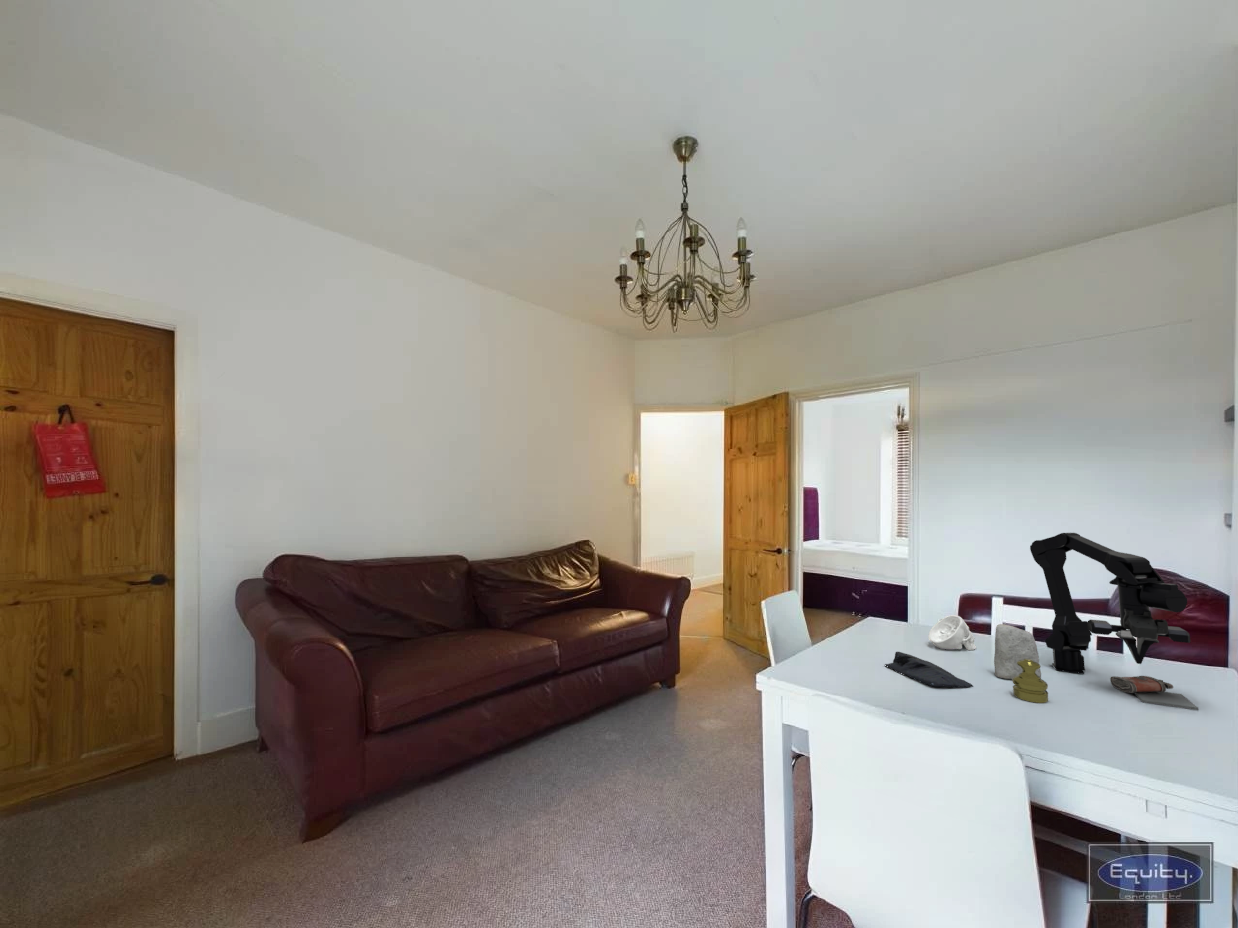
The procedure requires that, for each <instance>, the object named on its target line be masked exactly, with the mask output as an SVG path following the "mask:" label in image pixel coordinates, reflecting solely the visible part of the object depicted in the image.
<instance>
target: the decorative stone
mask: <svg viewBox="0 0 1238 928" xmlns="http://www.w3.org/2000/svg"><path fill="white" fill-rule="evenodd" d="M994 635H995V636H994V659H993V663H994V664H993V665H994V674H995V677H998V678H1001V679H1006V680H1012V678H1013V677H1014V676H1017V675H1018V674H1020V673H1021V672H1022V671H1023V670H1022V668H1021V667H1020V666H1019V665H1018V664H1017V661H1019V660H1024V659H1031V660H1033V661H1034V662H1037V663H1038V664H1040V659H1039V652H1038V648H1037V643H1036V640H1035V637H1034V635H1033V634H1032V633H1031V632H1030V631H1028V630H1024V629H1021V628H1018V627H1016V626H1012V625H1008V624H1004V623H1003V624H1002V623H999V624H997V625H996V627H995V634H994ZM1035 673H1036V674H1037V675H1038V676H1039V677H1040V678H1041V679H1042V672H1041V667H1040V668H1039V669H1037V670H1036V672H1035Z"/></svg>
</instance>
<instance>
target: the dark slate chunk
mask: <svg viewBox="0 0 1238 928" xmlns="http://www.w3.org/2000/svg"><path fill="white" fill-rule="evenodd" d="M893 658H894V659H893V660H892V662H891V663H885V664H884V666H885V665H886V666H888V667H890V668H889V669H891V668H892V669H891V670H893V669H894V670H896V671H897V672H896V671H895V672H896V673H898V672H900V673H902V674H901V675H903V674H904V675H903V676H905V675H907V676H906V677H909V676H910V677H909V678H911V679H913V678H915V679H916V680H915V679H914V680H915V681H918V682H919V681H921V682H920V683H922V684H924V683H925V684H924V685H928V686H931V687H935V688H937V687H939V688H940V687H942V688H943V687H944V688H946V687H949V688H961V689H963V688H964V689H966V688H967V689H968V688H972V687H973V688H974V685H973V684H972V683H970V682H968V681H966V680H964V679H961V678H958V677H957V676H955V675H954V674H953V673H951V672H949V671H947V670H946V669H945V668H942V667H940V666H939V665H937V664H935V663H933V662H931V661H929V660H925V659H922V658H919V657H917V656H914V655H911V654H908V653H904V652H902V651H895V653H894V657H893ZM886 666H885V667H886ZM894 670H893V671H894ZM900 673H899V674H900Z"/></svg>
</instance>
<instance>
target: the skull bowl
mask: <svg viewBox="0 0 1238 928" xmlns="http://www.w3.org/2000/svg"><path fill="white" fill-rule="evenodd" d="M927 639H928V640H929V641H930V642H931V644H932V645H934V646H935V647H936V648H938V649H940V650H945V649H946V650H955V649H956V650H962V648H963V646H964V647H965V649H966V650H968V651H975V650H976V649H977V646H976V645H975V640H976V637H975V636H974V635H973V633H972V631H970V627H969V626H968V625H967V623H966V622H965V620H964V619H963V618H962V617H961V616H960V615H955V614H950V615H947V616H944V617H943V618H942V619H940V620H939V621H938V622H936V623H935V624H933V626H932V627H931V628H930V630H929V632H928V638H927ZM974 649H975V650H974Z"/></svg>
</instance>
